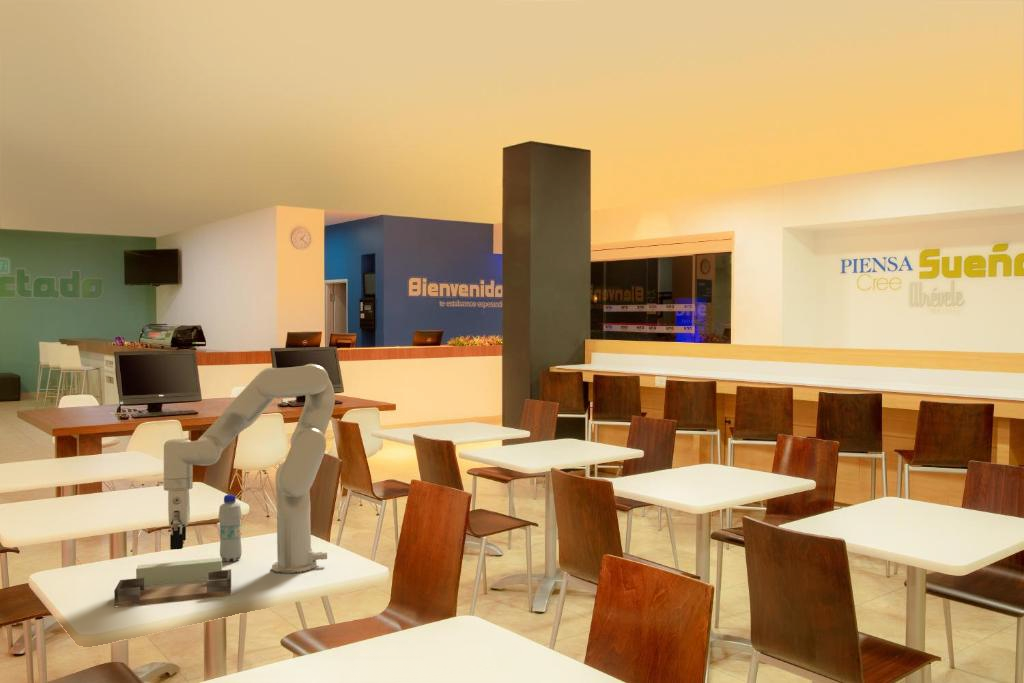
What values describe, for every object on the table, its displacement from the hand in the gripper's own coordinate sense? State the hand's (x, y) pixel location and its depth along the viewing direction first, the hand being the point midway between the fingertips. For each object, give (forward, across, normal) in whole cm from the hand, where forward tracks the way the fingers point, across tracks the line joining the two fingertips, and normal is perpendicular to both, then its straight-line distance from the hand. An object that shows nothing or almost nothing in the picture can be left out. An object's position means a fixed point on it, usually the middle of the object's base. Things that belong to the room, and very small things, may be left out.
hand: (178, 544), depth 228 cm
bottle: (+10, +17, -14) cm, 24 cm away
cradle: (+10, -15, 0) cm, 18 cm away
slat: (+10, 0, -1) cm, 10 cm away
